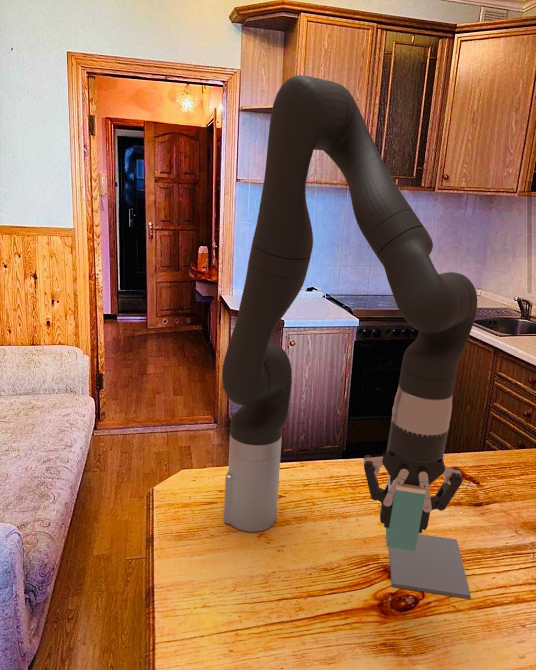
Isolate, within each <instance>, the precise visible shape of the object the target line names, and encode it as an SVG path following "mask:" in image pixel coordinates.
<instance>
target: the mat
mask: <svg viewBox="0 0 536 670" xmlns="http://www.w3.org/2000/svg"><path fill="white" fill-rule="evenodd" d="M388 551H389V552H388V553H389V554H388V555H389V556H388V557H389V567H390V571H389V572H390V582H391V583H390V585H391V588H392V587H393V588H398V589H399V588H400V589H404V590H405V589H406V590H412V591H418V592H425V593H431V594H436V595H437V594H438V595H442V596H450V597H458V598H461V599H462V598H463V599H469V600H470V599H471V591H470V587H469V584H468V579H467V575H466V571H465V566H464V564H463V559H462V555H461V551H460V548H459V544H458V540H457V538H456V539H455V538H451V537H450V538H449V537H445V536H444V537H442V536H436V535H429V534H422V533H418V539H417V544H416V550H415V551H409V550H403V549H397V548H391V547H388Z"/></svg>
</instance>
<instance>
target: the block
mask: <svg viewBox="0 0 536 670" xmlns="http://www.w3.org/2000/svg"><path fill="white" fill-rule="evenodd" d="M425 494H426V489H421V488H420V486H416V485H409V484H403V485H402V486H400V485H396V490H395V494H394V499H393V503H392V511H391V517H390V523H389V528H385V542H386V543H385V544H386V548H389V547H391V548H397V549H403V550H409V551H415V550H416V544H417V539H418V534H420V533H419V527H420V522H421V516H422V511H423V505H424V499H425Z"/></svg>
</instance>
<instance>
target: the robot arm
mask: <svg viewBox="0 0 536 670" xmlns="http://www.w3.org/2000/svg"><path fill="white" fill-rule="evenodd" d="M368 128H369V127H368V126H367V124H366V122H365V120H364V117H363V115H362V112H361V111H360V108H359V106H358V103H356V100H355V99H354V97H353V95H352V93H351V92H350V91H349V89H348V88H346V87H345V86H344V85H342V84H340V83H338V82H336V81H332V80H327V79H323V78H318V77H313V76H308V75H303V74H302V75H301V74H300V75H299V74H298V75H294V76H291V77H290V78H288V79H286V80H285V82H284V83H283V84H281V86H280V88H279V89H278V91H277V93H276V96H275V98H274V101H273V104H272V110H271V114H270V119H269V132H268V139H267V151H266V161H265V171H264V178H263V186H262V190H261V197H260V203H259V209H258V215H257V220H256V225H255V228H254V229H255V230H254V234H253V238H252V242H251V247H250V252H249V257H248V262H247V267H246V268H247V270H246V275H245V281H244V286H243V289H242V294H241V299H240V303H239V308H238V312H237V315H236V316H237V317H236V319H235V320H236V321H235V324H234V327H233V330H232V333H231V337H230V340H229V343H228V344H227V345H228V346H227V349H226V353H225V356H224V360H223V363H222V371H221V379H222V380H221V383H222V386H223V389H224V392H225V394H226V396H227V398H228V399H229V400H230V401H231V402H232V403H234V404H236V405H240V406H241V407H240V408H239V409H238V410H237V411H236V412H235V413H234V414H233V415H232V416H231V418H230V422H229V423H230V424H229V447H228V448H229V450H228V452H229V453H228V470H227V472H226V475H225V479H224V481H225V483H224V485H225V486H224V504H223V505H224V507H223V508H224V511H223V523H224V524H228V525H231V526H232V527H233V528H236V529H237V530H240V531H243V532H250V533H252V532H253V533H254V532H255V533H256V532H262V531H265V530H268V529H270V528H271V527H272V526H274V524H275V523H276V521H277V512H278V498H279V484H280V468H281V453H282V452H281V451H282V435H283V428H284V427H285V425H286V423H287V420H288V414H289V408H290V400H291V393H292V391H291V390H292V384H293V383H292V382H293V381H292V380H293V373H292V371H293V370H292V365H291V360H290V358H289V356H288V354H287V353H286V351H285V350H284V348H283V347H281V346H279V345H278V344H275V343H270V341H271V338H272V336H273V333H274V331H275V329H276V327H277V326H278V324H279V323H280V321H281V320H282V318H283V317H284V315H285V314H286V313H287V312H288V310H289V308H290V307H291V306H292V304H293V303H294V301H295V300H296V298H297V297H298V295H299V293H300V292H301V290H302V287H303V285H304V283H305V281H306V277H307V273H308V269H309V266H310V262H311V261H310V260H311V258H312V253H313V249H314V248H313V247H314V232H313V227H312V221H311V218H310V214H309V213H310V212H309V209H308V204H307V198H306V197H307V195H306V190H307V189H306V186H307V179H308V174H309V168H310V164H311V161H312V157H313V154H314V151H323V152H324V153H325V154H326V155H328V157H329V158H330V160H332V161H333V163H334V164H335V165H336V166H337V167H338V169H339V170H340V172H341V174H343V175H342V176H343V177H344V179H345V181H346V183H347V186H348V190H349V194H350V200H351V205H352V211H353V214H354V215H353V216H354V218H355V220H356V224H357V226H358V228H359V229H360V232H361V233H362V235H363V237H364V239H365V240H366V242H367V244H368V246H370V248H371V250H372V251H373V253H374V255H375V256H376V257H377V259H378V261H379V263H381V265H382V266H383V268H384V272H385V275H386V278H387V281H388V284H389V288H390V290H391V294H392V295H393V298H394V302H395V304H396V307H397V309H398V310H399V312H400V314H401V316H402V317H403V318H404V320H405V321H406V322H407V323H408V324H409V325H410V326H411V327H413V329H415V330H417V331H418V334H417V337H416V338H415V340H414V341H413V342H412V343H410V344H409V346H407V348H406V349H405V351H404V354H403V357H402V362H401V367H400V373H399V374H400V375H399V379H398V387H397V390H396V391H397V392H396V394H395V397H394V401H393V402H394V403H393V406H392V410H391V414H392V415H391V421H390V428H389V434H388V440H387V441H388V442H387V447H386V450H385V451H384V452H383V453H382V455H381V456H375V457H372V456H371V454H367V455H366V454H365V455H364V457H363V469H364V475H365V477H366V482H367V486H368V491H369V495H370V499H371V500H372V501H378V502H380V503H381V505H380V509H379V511H380V512H379V521H380V524H383V528H385V529H386V528H389V523H390V517H391V511H392V503H393V499H394V494H395V490H396V485H400V486H402V485H403V484H409V485H416V486H420V488H421V489H426V494H425V499H424V505H423V511H422V516H421V522H420V527H419V533H418V534H422V533H423V531H427V529H428V526H429V520H430V514H431V512H432V511H434V510H438V511H440V512H441V511H442V512H443V511H445V509H446V508H447V507H448V506H449V503H450V502H451V501H452V499H453V497H454V496H455V495H456V492H457V491H458V490H459V488H460V486H461V485H462V484H463V477H462V473H461V469H460V468H458V467H453V468H452V467H449V466H447V465H445V462H444V457H445V456H444V454H445V451H446V450H445V449H446V443H447V438H448V435H449V428H450V422H451V417H452V411H453V397H454V396H453V395H454V390H455V384H456V378H457V373H458V372H457V371H458V365H459V361H460V359H461V356H462V355H463V354H462V353H463V352H464V351H465V348H466V345H467V342H468V339H469V337H470V334H471V331H472V330H473V326H474V323H475V319H476V316H477V311H478V310H477V309H478V294H477V290H476V288H475V286H474V284H473V282H472V281H471V279H469V278H468V277H467V276H465V275H464V274H461V273H458V272H453V271H451V272H449V271H448V272H443V273H442V272H441V273H439V272H438V271H437V270H436V268H435V266H434V264H433V261H432V259H431V257H430V255H431V253H432V251H433V249H434V242H433V239H432V237H431V236H430V234H429V232H428V229H426V227H425V226H424V224H423V223H422V222H421V220H420V218H419V217H418V216H417V214H416V213H415V211H414V210H413V208H412V207H411V205H410V203H409V202H408V201H407V200H406V197H405V196H404V195H403V193H402V192H401V190H400V189H399V187H398V186H397V183H396V182H395V181H394V179H393V177H392V175H391V173H390V172H389V169H388V168H387V166H386V163H385V162H384V160H383V158H382V156H381V154H380V152H379V150H378V148H377V145H376V143H375V141H374V140H373V137H372V135H371V134H370V131H369V129H368ZM382 466H384V469H385V471H386V472H387V474H388V479H387V483H386V485H385V488H384V489H383V488H381V487H380V484H379V480H378V476H377V474H379V473H380V471H381V470H380V469H381V467H382ZM441 475H443V476H442V477H443V482H442V484H441V486H440V487H439V489H438V491H437V492H436V493H435V495H433V496H431V490H430V485H431V484H433V482H435V481H436V480H437V479H438V478H440V477H441Z"/></svg>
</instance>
